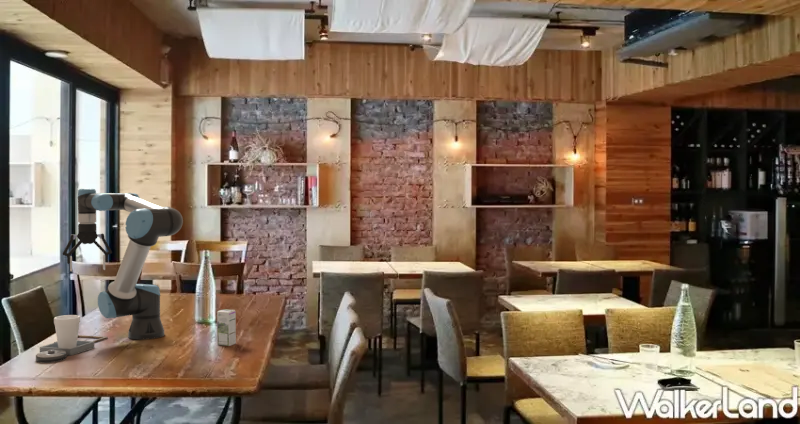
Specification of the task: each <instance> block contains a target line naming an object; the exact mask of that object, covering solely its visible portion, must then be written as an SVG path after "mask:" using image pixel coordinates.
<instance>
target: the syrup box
mask: <svg viewBox="0 0 800 424" xmlns="http://www.w3.org/2000/svg"><path fill="white" fill-rule="evenodd" d="M216 313H217V315H216V321H217V323H216V324H217V332H216V333H217V337H216V338H217V346H223V347H224V346H226V347H230V346H233V345H235V344H237V342H236V341H237V338H236V337H237V336H236V335H237V334H236V333H237V332H236V331H237V330H236V322H237V320H236V315H237V314H236V313H237V312H236V310H235V309H226V308H225V309H220V310H218V311H216Z"/></svg>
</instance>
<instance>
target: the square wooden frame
mask: <svg viewBox="0 0 800 424" xmlns="http://www.w3.org/2000/svg"><path fill="white" fill-rule="evenodd" d="M78 338H80V339H81V338H82V339H83V338H84V339H94V340H93V341H94V344H95V343H99V342H102V341H104V340H107V339H109V338H108V336H100V335H84V334H83V335H82V334H78ZM55 342H57V340H56V341H54V342H53V343H55Z"/></svg>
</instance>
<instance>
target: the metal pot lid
mask: <svg viewBox="0 0 800 424" xmlns="http://www.w3.org/2000/svg"><path fill="white" fill-rule="evenodd" d="M66 359H67V353H66V352H65V351H62V350H54V349H51V350H48V351H44V352H40V351H39V352H38V353H36V354H35V362H37V363H42V364H43V363H46V364H48V363H49V364H50V363H56V362H61V361H64V360H66Z"/></svg>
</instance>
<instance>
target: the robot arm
mask: <svg viewBox="0 0 800 424" xmlns="http://www.w3.org/2000/svg"><path fill="white" fill-rule="evenodd" d="M76 198H77V223H78V224H77V234H70V239H69V241H68V242H67V244H66V247H65V248H64V249H63V251H62V256H65V257H66V261H67V262H66V263H67V264H68V265H69V271H70V272H73V256H72V254H73V253H75V251H76V250H77V249H78V248H79V247H80V245H86V244H88V245H91V244H94V245H96V247H97V248H98V249H99V250H100V251H101V252H102V253H103V255H102V269H103V270H104V271H106V263H108V262H109V255H112V254H113V251H112V249H111V248H110V246H109V243H108V242H107V241H106V239H105V234H104V233H103V232H102V233H99V234H98V233H97V224H96V223H97V211H99V212H105V211H125V212H128V213H129V214H128V215H127V218H126V220H125V232H126V234H127V237H128V239H129V242H128V244H127V247H126V250H125V253H124V255H123V257H122V260H121V263H120V265H119V267H118V271H117V273H116V276H115V278H114V281H111V282H110V283H109V284H108V286H107V288H106V290H103V291H101V292H99V293H98V295H97V306H98V310H99V312H100V314H101V316H102V317H104V318H105V319H116V318H123V317H129V316H132V317H131V318H132V320H131V323H130V325H129V329H128V332H127V337H128V339H130V340H131V339H132V340H152V339H153V340H154V339H157V338H162V337H164V336H165V328H164V325H163V323H162V320H161V291H160V287H159V286H158V285H156V284H148V283H146V284H144V283H138V280H139V278H140V275H141V272H142V270H143V267H144V265H145V263H146V260H147V257H148V255H149V252H150V250H151V247H154V246H155V245H156V244H157V242H158V240H159V237H170V236H174V235H176V234H177V233H178V232H179V231H180V230H181V229H182V226H183V224H184V220H183V219H184V218H183V216H182V214H181V212H180V211H179V210H178V209H176V208H174V207H171V206H161V205H158V204H156V203H153V202H150V201H148V200H145V199H143V198H140V196H139V194H137V193H135V192H133V193H132V192H128V193H127V192H123V193H121V192H120V193H114V192H113V193H112V192H109V193H107V192H106V193H105V192H98V193H97V190H96V189H95V188H79V189H78V190H77V197H76ZM76 238H77V239H78V241H77V243H76V244H75V245H74V246H73V247H72V248H71V249H70V247H71V245H72V244H73V241H74V240H76ZM97 238H99V239H101V241H102V242H103V245H104V246H105V248H106V250H107V251H106V250H105V249H104V247H102V246H101V244H100V243H98V241H97ZM69 249H70V251H69Z"/></svg>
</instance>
